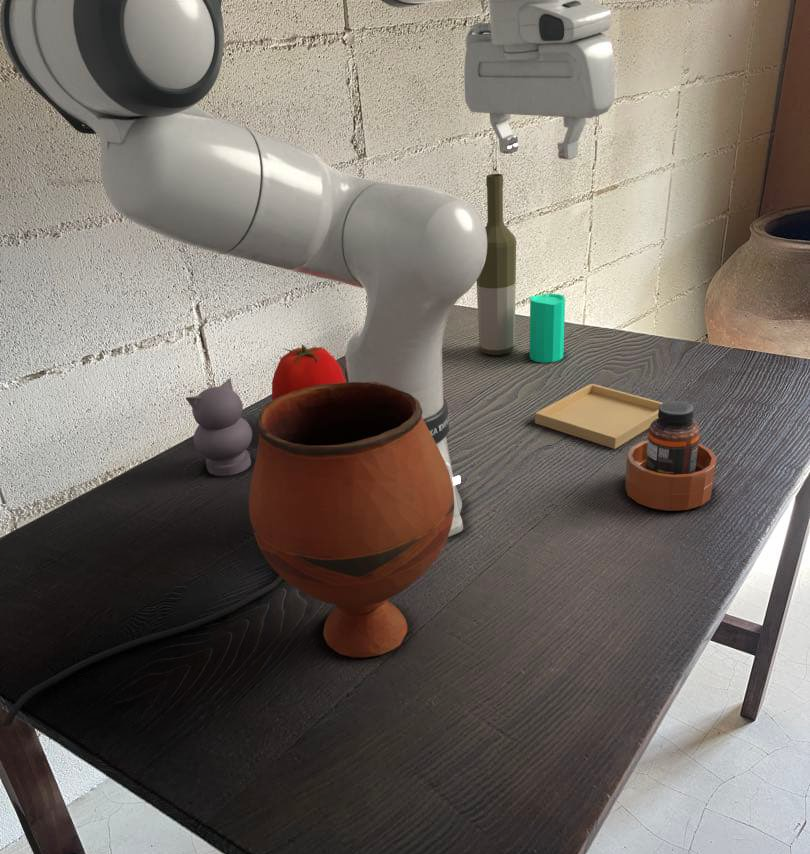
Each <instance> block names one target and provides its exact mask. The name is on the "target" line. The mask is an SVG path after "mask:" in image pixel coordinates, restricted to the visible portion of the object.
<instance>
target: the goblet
mask: <svg viewBox="0 0 810 854" xmlns="http://www.w3.org/2000/svg"><path fill="white" fill-rule="evenodd" d="M422 412H423V411H422V408H421V406H420V403H419V401H418V400H417V399H416V398H414V397H413V396H412V395H410V394H408V393H405V392H403V391H401V390H398V389H396V388H394V387H391V386H389V385H385V384H382V383H378V382H347V381H345V383H329V384H321V385H315V386H312V387H308V388H304V389H301V390H297V391H293V392H290V393H288V394H285V395H283V396H280V397H277V398H275V399H274V400H272V399H271V401H269V402H266V404H265V405H264V406H262V407H261V409H260V413H259V415H258V417H257V420H256V428H257V431H258V443H257V453H256V458H255V462H254V467H253V470H252V476H251V481H250V485H249V494H248V513H249V520H250V524H251V527H252V531H253V534H254V537H255V541H256V543H257V546H258V548H259V550H260V552H261V554H262V555H263V557H264V558H265V559H266V561H267V562H268V564H269V565H270V567H271V568H272V569H273V570H274V572H275V573H277V574H278V576H279V575H280V576H281V577H282V578H283V580H284V581H285V582H286V583H288V584H289V585H291V586H292V587H294V588H295V589H296V590H298V591H300V592H302V593H303V594H305V595H307V596H308V597H311V598H313V599H316V600H318V601H321V602H323V603H326V604H329V605H334V606H335V607H334V609H333V610H332V611H331V612H330V613H329V615H328V616H327V618H326V620H325V622H324V627H323V638H324V640H325V643H326V645H327V646H329V648H330V649H332V650H333V651H335V652H336V653H337V654H340V655H341V656H345V657H349V658H362V659H363V658H368V657H369V658H370V657H377V656H382V655H384V654H387V653H388V652H391V651H392V650H394V649H397V648H398V647H399V646H401V644H402V642H403V641H404V639H405V637H406V634H407V633H408V623H407V621H406V620H407V619H406V617H405V615H404V614H403V613H402V612H401V610H400V609H399V608H398V607H397V606H396V605H394V604H393V603H392V602H390V601H388V600H389V599H391V598H393V597H395V596H396V595H398V594H400V593H402V592H403V591H404V590H406V589H407V588H409V587H410V586H412V585H413V584H414V583H415V582H416V581H417V580H418V579H419V578H420V577H421V576H422V575H424V574H425V572H426V571H427V570H428V569H429V568H430V567H431V566H432V565H433V564H434V563H435V562H436V561H437V559H438V557H439V556H440V554H441V552H442V550H443V548H444V546H445V545H446V543H447V541H448V538H449V537H448V535H449V533H450V529H451V525H452V521H453V513H454V493H453V487H452V483H451V479H450V475H449V471H448V469H447V466H446V464H445V462H444V459H443V457H442V455H441V453H440V450H439V448H438V446H437V444H436V443H435V441H434V439H433V437H432V435H431V433H430V431H429V429H428V428H427V426H426V424H425V422H424V420H423V418H422Z"/></svg>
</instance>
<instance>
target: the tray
mask: <svg viewBox="0 0 810 854" xmlns="http://www.w3.org/2000/svg"><path fill="white" fill-rule="evenodd" d="M662 403H663V402H662V401H658V400H654V399H650V398H648V397H647V398H646V397H642V396H639V395H637V394H636V395H635V394H632V393H628V392H625V391H621V390H617V389H613V388H610V387H606V386H603V385H599V384H595V383H589V384H588V385H585V386H584V387H582V388H579V389H577V390H576V391H575V392H572V393H570V394H568V395H567V396H565V397H563V398H561V399H558V400H557V401H555V402H553V403H551V404H549V405H547V406H545V407H544V408H542V409H540V410H537V411H535V413H534V424H536V425H539V426H543V427H546V428H548V429H552V430H555V431H558V432H562V433H564V434H567V435H570V436H573V437H576V438H580V439H582V440H586V441H589V442H592V443H595V444H597V445H601V446H605V447H608V448H610V449H613V450H616V449H617V448H619V447H620V446H622V445H623V444H626V443H627V442H629V441H631V440H632V439H634V438H635V437H637V436H639V435H640V434H642V433H643V432H645V431H647V430H649V427H650V425H651V423H652V422H653V421H654V420H656V419H657V418H659V417H658V412H659V406H660V405H661V404H662Z"/></svg>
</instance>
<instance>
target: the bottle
mask: <svg viewBox="0 0 810 854" xmlns="http://www.w3.org/2000/svg"><path fill="white" fill-rule="evenodd" d="M485 184H486V209H487V211H486V212H487V213H486V214H487V222H486V225H485V229H486V234H487V254H486V260H485V263H484V266H483V269H482V271H481V274H480V276H479V277H478V279H477V281H476V300H477V323H478V324H477V325H478V326H477V327H478V346H479V350H480V352H482V353H483V354H486V355H490V356H501V355H502V356H503V355H506V354H509V353H511V352H513V350H514V348H515V342H516V336H515V335H516V288H517V287H516V284H517V279H516V278H517V238H516V236H515V235H514V234H513V233H512V231H511V230H510V229H509V228H508V227H507V226H506V225H505V222H504V193H503V192H504V175H503V174H502V173H489V174H487V175H486V179H485Z"/></svg>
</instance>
